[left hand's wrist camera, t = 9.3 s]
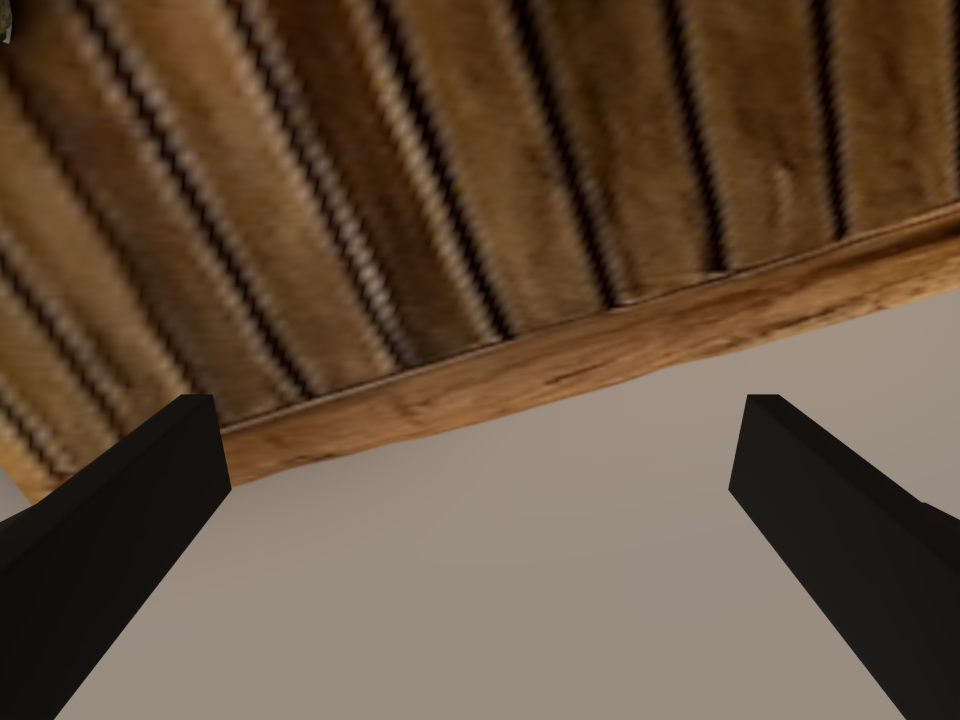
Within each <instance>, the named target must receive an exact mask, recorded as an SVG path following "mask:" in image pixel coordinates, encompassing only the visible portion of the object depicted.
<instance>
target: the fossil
mask: <svg viewBox="0 0 960 720" xmlns="http://www.w3.org/2000/svg"><path fill="white" fill-rule="evenodd" d="M11 28H12V13H11V8H10V1H9V0H0V41H2V42H5V43H9V41H10V35H11Z"/></svg>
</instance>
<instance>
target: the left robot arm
mask: <svg viewBox="0 0 960 720" xmlns="http://www.w3.org/2000/svg"><path fill="white" fill-rule="evenodd" d="M231 490H232V488H231V484H230V479H229V474H228V469H227V464H226V459H225V454H224V449H223V444H222V439H221V434H220V429H219V424H218V419H217V414H216V409H215V404H214V399H213V394H181V395H180V396H179V397H177V398H176V399H175V400H173V401H172V402H171V403H169V404H168V405H167V406H165V407H164V408H163V409H161V410H160V411H159V412H157V413H156V414H155V415H153V416H152V417H151V418H150V419H148V420H147V421H146V422H144V423H143V424H142V425H140V426H139V427H138V428H136V429H135V430H134V431H132V432H131V433H130V434H128V435H127V436H126V437H124V438H123V439H122V440H120V441H119V442H118V443H116V444H115V445H114V446H112V447H111V448H110V449H109V450H107V451H106V452H105V453H103V454H102V455H101V456H99V457H98V458H97V459H95V460H94V461H93V462H91V463H90V464H89V465H87V466H86V467H85V468H83V469H82V470H81V471H79V472H78V473H77V474H75V475H74V476H73V477H71V478H70V479H69V480H68V481H66V482H65V483H64V484H62V485H61V486H60V487H58V488H57V489H56V490H54V491H53V492H52V493H50V494H49V495H48V496H46V497H45V498H44V499H42V500H41V501H40V502H38V503H37V504H35V505H33V506H31V507H29V508H27V509H25V510H23V511H21V512H19V513H17V514H15V515H13V516H12V517H9V518H8V519H6V520H4V521H2V522H0V720H54V719H55V718H56V716H57V715H58V714H59V712H60V711H61V710H62V708H63V707H64V706H65V704H66V703H67V702H68V701H69V699H70V698H71V697H72V695H73V694H74V693H75V692H76V690H77V689H78V688H79V686H80V685H81V684H82V683H83V681H84V680H85V679H86V677H87V676H88V675H89V673H90V672H91V671H92V670H93V668H94V667H95V666H96V664H97V663H98V662H99V661H100V659H101V658H102V657H103V655H104V654H105V653H106V652H107V650H108V649H109V648H110V646H111V645H112V644H113V642H114V641H115V640H116V639H117V637H118V636H119V635H120V633H121V632H122V631H123V630H124V628H125V627H126V626H127V624H128V623H129V622H130V620H131V619H132V618H133V617H134V615H135V614H136V613H137V612H138V610H139V609H140V608H141V606H142V605H143V604H144V602H145V601H146V600H147V599H148V597H149V596H150V595H151V593H152V592H153V591H154V590H155V588H156V587H157V586H158V584H159V583H160V582H161V580H162V579H163V578H164V576H165V575H166V574H167V573H168V571H169V570H170V569H171V568H172V566H173V565H174V564H175V562H176V561H177V560H178V558H179V557H180V556H181V555H182V553H183V552H184V551H185V549H186V548H187V547H188V545H189V544H190V543H191V542H192V540H193V539H194V538H195V536H196V535H197V534H198V533H199V531H200V530H201V529H202V527H203V526H204V525H205V524H206V522H207V521H208V520H209V518H210V517H211V516H212V514H213V513H214V512H215V511H216V509H217V508H218V507H219V505H220V504H221V503H222V502H223V500H224V499H225V498H226V496H227V495H228V494H229V493H230V491H231ZM728 490H729V491H730V493H731V494H732V495H733V496H734V498H735V499H736V500H737V501H738V503H739V504H740V505H741V507H742V508H743V509H744V511H745V512H746V513H747V514H748V516H749V517H750V518H751V520H752V521H753V522H754V524H755V525H756V526H757V527H758V529H759V530H760V531H761V533H762V534H763V535H764V536H765V538H766V539H767V540H768V542H769V543H770V544H771V545H772V547H773V548H774V549H775V551H776V552H777V553H778V555H779V556H780V557H781V558H782V560H783V561H784V562H785V564H786V565H787V566H788V567H789V569H790V570H791V571H792V573H793V574H794V575H795V577H796V578H797V579H798V580H799V582H800V583H801V584H802V586H803V587H804V588H805V590H806V591H807V592H808V593H809V595H810V596H811V597H812V599H813V600H814V601H815V602H816V604H817V605H818V606H819V608H820V609H821V610H822V612H823V613H824V614H825V615H826V617H827V618H828V619H829V621H830V622H831V623H832V624H833V626H834V627H835V628H836V630H837V631H838V632H839V633H840V635H841V636H842V637H843V639H844V640H845V641H846V643H847V644H848V645H849V646H850V648H851V649H852V650H853V652H854V653H855V654H856V655H857V657H858V658H859V659H860V661H861V662H862V663H863V665H864V666H865V667H866V668H867V670H868V671H869V672H870V674H871V675H872V676H873V677H874V679H875V680H876V681H877V683H878V684H879V685H880V686H881V688H882V689H883V690H884V692H885V693H886V694H887V696H888V697H889V698H890V699H891V701H892V702H893V703H894V704H895V706H896V707H897V708H898V710H899V711H900V712H901V714H902V715H903V716H904V717H905V719H906V720H960V520H959V519H957V518H955V517H953V516H951V515H949V514H947V513H945V512H943V511H941V510H939V509H937V508H935V507H933V506H931V505H929V504H927V503H922V502H920V501H919V500H917V499H916V498H915V497H914V496H912V495H911V494H910V493H908V492H907V491H906V490H904V489H903V488H902V487H900V486H899V485H898V484H896V483H895V482H894V481H892V480H891V479H890V478H889V477H887V476H886V475H884V474H883V473H882V472H881V471H879V470H878V469H877V468H875V467H874V466H873V465H871V464H870V463H869V462H867V461H866V460H865V459H863V458H862V457H861V456H859V455H858V454H857V453H855V452H854V451H853V450H851V449H850V448H849V447H847V446H846V445H845V444H844V443H842V442H841V441H840V440H838V439H837V438H836V437H834V436H833V435H832V434H830V433H829V432H828V431H826V430H825V429H824V428H822V427H821V426H820V425H818V424H817V423H816V422H814V421H813V420H812V419H810V418H809V417H808V416H807V415H805V414H804V413H803V412H801V411H800V410H799V409H797V408H796V407H795V406H793V405H792V404H791V403H789V402H788V401H787V400H785V399H784V398H783V397H781V396H780V395H778V394H771V395H769V394H748V395H747V399H746V404H745V409H744V414H743V419H742V424H741V429H740V434H739V439H738V444H737V449H736V454H735V459H734V464H733V469H732V474H731V479H730V484H729V488H728Z"/></svg>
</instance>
